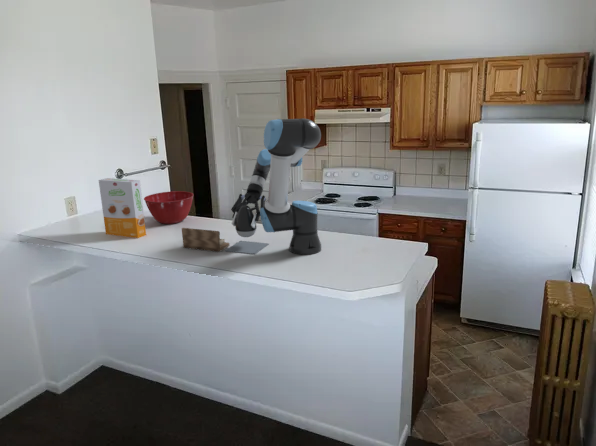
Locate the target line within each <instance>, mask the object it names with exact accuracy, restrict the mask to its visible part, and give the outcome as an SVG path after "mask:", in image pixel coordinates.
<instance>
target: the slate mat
mask: <svg viewBox="0 0 596 446" xmlns="http://www.w3.org/2000/svg"><path fill="white" fill-rule="evenodd" d="M269 245H270V243H267V242H257V241H249V240H248V241H247V240H239V241H238V242H236V243H234V244H233V245H231V246H228V247H227V248H225V249H224V252H230V253H239V254H247V255H248V254H249V255H256V254H257V253H259V252H261V251H262V250H263V249H265V248H266V247H267V246H269Z"/></svg>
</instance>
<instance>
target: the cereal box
mask: <svg viewBox="0 0 596 446" xmlns="http://www.w3.org/2000/svg"><path fill="white" fill-rule="evenodd" d="M141 185H142V184H141V179H127V178H126V179H125V178H113V177H112V178H111V177H107V178H102V179H101V178H100V179H98V187H99V193H100V200H101V207H102V215H103V221H104V229H105V235H110V236H117V237H125V238H132V239H133V238H134V239H140V238H142V237H145V236H147V232H146V231H147V230H146V229H147V228H146V222H145V212H144V206H143V205H144V204H143V196H142V187H141Z"/></svg>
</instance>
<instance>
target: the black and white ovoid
mask: <svg viewBox="0 0 596 446" xmlns="http://www.w3.org/2000/svg"><path fill="white" fill-rule="evenodd" d="M254 211H256V208H255V206H254V207H250V206H249V205H243V206H241V207H240V209H239V211H238V214H237V218H236V225H235V226H234V227H235V231H236V233H237V235H238V236H239V237H241V238H250V237H252V236H253V235H255V233H256V232H257V227H258V226H257V224H256V225H255V228H253V227H252V226H251V223H252V220H253V217H254V214H255V213H254Z"/></svg>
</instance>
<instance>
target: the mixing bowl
mask: <svg viewBox="0 0 596 446" xmlns="http://www.w3.org/2000/svg"><path fill="white" fill-rule="evenodd" d="M143 200H144V202H145V205H146V207H147V209H148V211H149V213H150V214H151V216H152V218H153V219H154V220H156V221H157V222H158V223H160V224H163V225H173V224H178V223H179V224H180V223H181V222H184V220H185V219H187V217H188V215H189V213H190V211H191V209H192V208H191V207H192V204H193V200H194V193H193V192H190V191H183V190H182V191H181V190H177V191H176V190H174V191H173V190H172V191H162V192H158V193H157V192H155V193H152V194H149V195H145V197H144V198H143Z"/></svg>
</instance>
